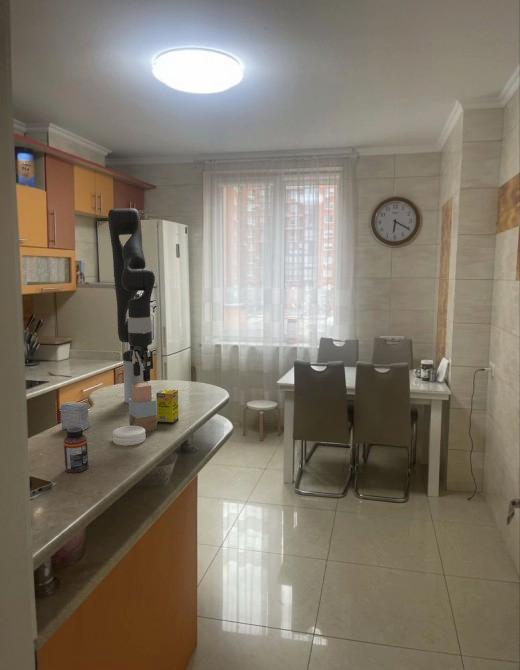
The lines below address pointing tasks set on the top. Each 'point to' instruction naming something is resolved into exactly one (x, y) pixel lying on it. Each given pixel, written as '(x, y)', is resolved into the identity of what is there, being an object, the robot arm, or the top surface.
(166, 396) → the supplement box
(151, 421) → the tower base block
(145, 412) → the tower top block
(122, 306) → the robot arm
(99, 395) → the top surface
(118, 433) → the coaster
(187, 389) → the top surface
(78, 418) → the medicine box
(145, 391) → the cube
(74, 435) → the supplement bottle
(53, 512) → the top surface
